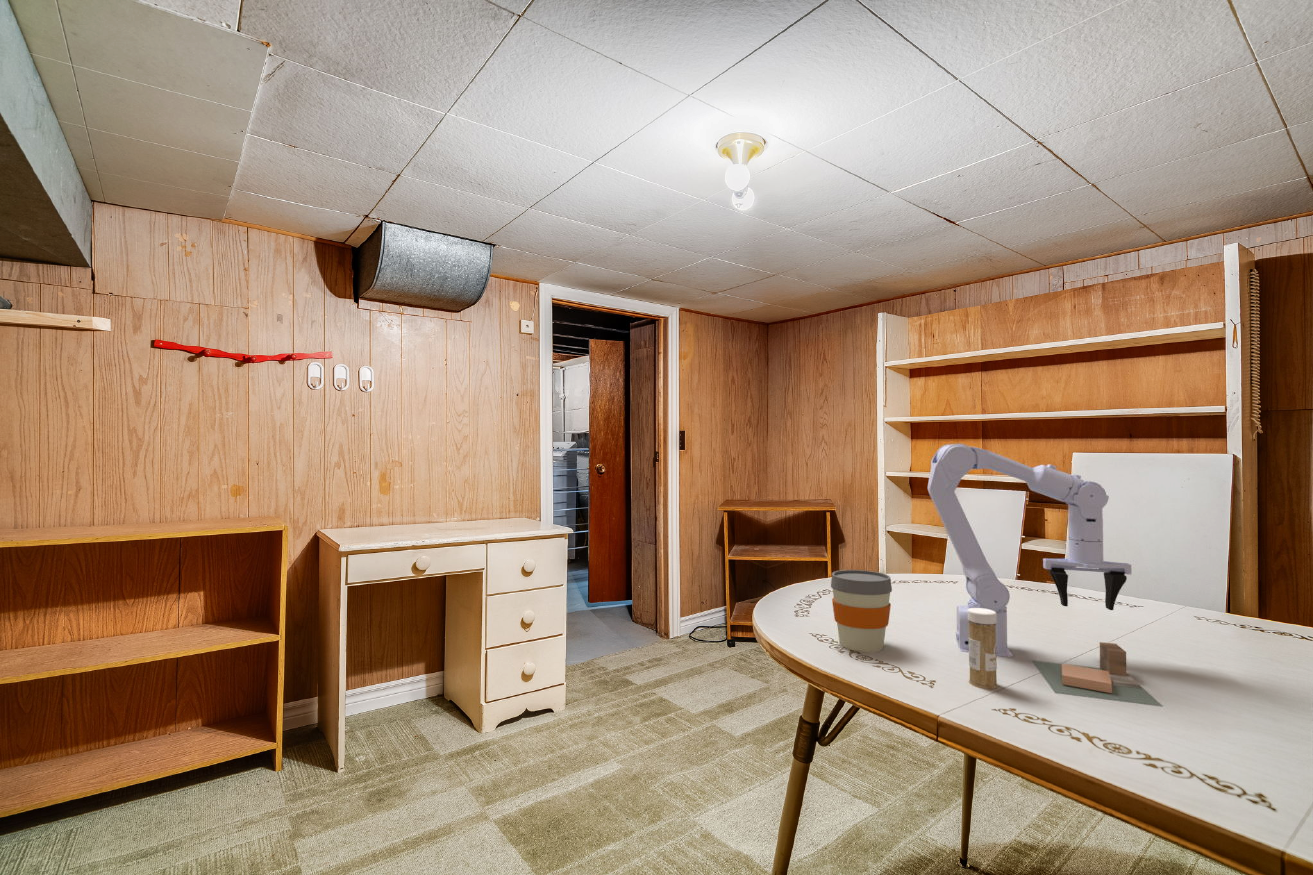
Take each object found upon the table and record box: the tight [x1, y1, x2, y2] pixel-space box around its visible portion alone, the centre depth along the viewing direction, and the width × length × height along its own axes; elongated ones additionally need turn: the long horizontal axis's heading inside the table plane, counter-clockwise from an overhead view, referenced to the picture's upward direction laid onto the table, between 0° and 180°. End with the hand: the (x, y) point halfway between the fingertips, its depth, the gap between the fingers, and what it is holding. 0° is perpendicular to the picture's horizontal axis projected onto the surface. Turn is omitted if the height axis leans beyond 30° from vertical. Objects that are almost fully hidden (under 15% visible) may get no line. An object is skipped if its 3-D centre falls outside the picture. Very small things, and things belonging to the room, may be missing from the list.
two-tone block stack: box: [1099, 641, 1141, 688], centre depth 109 cm, size 9×4×5 cm, turn 159°
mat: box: [1031, 660, 1164, 708], centre depth 107 cm, size 15×17×1 cm
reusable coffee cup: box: [830, 569, 893, 653], centre depth 128 cm, size 13×13×15 cm
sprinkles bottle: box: [968, 608, 998, 690], centre depth 106 cm, size 5×5×14 cm
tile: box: [1061, 663, 1112, 693], centre depth 106 cm, size 7×2×7 cm
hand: (1086, 607), depth 120 cm, fingers open, 7 cm apart
